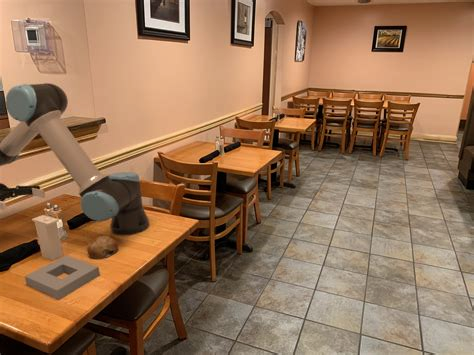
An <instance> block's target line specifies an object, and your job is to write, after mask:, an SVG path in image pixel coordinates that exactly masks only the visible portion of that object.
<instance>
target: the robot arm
mask: <svg viewBox="0 0 474 355" xmlns="http://www.w3.org/2000/svg"><path fill="white" fill-rule="evenodd" d="M67 96H68V95H67V94H66V93H65V91H64V90H63V89H62V88H61V87H60V86H59V85H57V84H53V83H36V84H34V83H33V84H32V83H31V84H27V83H23V84H20V85H19V84H18V85H14V86H13V87H11V88H10V89H9V90H8V92H7V93H6V97H5V99H6V100H5V107H6V110H7V112H8V114H9V116H10V117H11V118H12V119H13V120H15V121H18V122H19V123H18V124H17V125H16V126H15V127H14V128H13V129H12V130H11V131H10V132H9V133H8V134H7V135H5V137H4V138H3V140H2V141H1V142H0V167H2V166H6V165H10V164H12V163H14V162H16V161H18V159H19V156H20V152H22V151H23V149H24V148H25V147H26V146H28V144H29V143H30V142H31V141H32V140H34V138H35V137H36V136H38V134H39V135H40V137H41V138H42V139H43V140H44V142H45V143H46V145H47V146H48V147H49V148H50V150H51V151H52V152H53V154H54V155H55V157H56V158H57V160H59V162H60V163H61V165H62V166H63V167H64V169H65V170H66V171H67V172H68V174H69V175H70V177H71V178H72V179H73V180H74V182H75V183H76V185H77V186H78V187H79V190H78V195H79V196H80V198H81V199H80V208H81V210H82V212H83V213H84V215H85V216H87V217H88V218H89V219H91V220H93V221H98V222H106V221H108V220H110V219H111V220H110V231H111V232H112V234H114V235H119V236H129V235H135V234H138V233H142V232H143V231H145V230H147V229H148V228H149V227H150V221H149V220H150V219H149V218H148V216H147V214H146V211H145V210H144V207H143V206H144V205H143V199H142V198H143V197H142V190H141V189H142V188H141V180H140V175H138V174H139V173H136V172H130V171H128V172H127V171H124V172H114V173H109V174H102V173H101V172H100V171H99V169H98V168H97V166H96V165H95V164H94V163H93V161H92V160H91V158H90V157H89V156H88V154H87V152H86V151H85V150H84V149H83V147H82V146H81V145H80V143H79V142H78V140H77V139H76V138H75V137H74V135H73V133H72V132H71V131H70V130H69V128H68V127H67V126H66V124H65V123H64V122H63V120H62V118H61V116H62V115H63V114H64V113H65V111H66V110H67V108H68V100H69V99H68V97H67ZM30 195H31V196H33V197H38V198H42V199H45V198H46V194H45V190H43V189H41V187H40V185H18V184H17V185H15V187H8V186H7V185H5V184H4V183H2V182H0V210H1V211H4V212H5V211H8V210H7V209H8V208H7V205H6V202H4V201H5V200H7V199H10V198H17V197H19V196H30Z"/></svg>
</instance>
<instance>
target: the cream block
mask: <svg viewBox="0 0 474 355" xmlns="http://www.w3.org/2000/svg"><path fill="white" fill-rule="evenodd" d="M31 221H32V222H34V225H35V229H36V233H37V240H38V244H39V247H40V253H41V257H42V258H45V259H48V260H50V261H56V260H58V259H60V258H62V257H64V253H63V248H62V243H61V242H62V241H61V238H60V233H59V227H58V224H57V223H58V222H59V219H58V218H56V217H55V218H54V217H52V216H47V215H44V214H42V215H38V216H36V217H34V218H32V219H31Z"/></svg>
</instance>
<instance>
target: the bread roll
mask: <svg viewBox="0 0 474 355" xmlns="http://www.w3.org/2000/svg"><path fill="white" fill-rule="evenodd" d="M118 250H119V244H118V242H117V240H116V239H114V238H113V237H111V236H109V235H108V236H107V235H98V236H96V237H94V238H92V239H91V240H90V242H89V243H88V245H87V246H86V252H87V255H88V256H89V257H90V258H91V259H99V260H101V259H106V258H110V257H111V256H112V255H114V254H115V253H116V252H117V251H118Z"/></svg>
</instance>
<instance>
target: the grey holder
mask: <svg viewBox="0 0 474 355" xmlns="http://www.w3.org/2000/svg"><path fill="white" fill-rule="evenodd" d="M63 274H68V275H66V276H64V277H63V278H59V277H58V276H60V275H63ZM99 276H101V275H100V269H99V266H97V265H95V264H92V263H89V262H86V261H83V260H80V259H77V258H74V257H72V256H69V255H66V254H65V255H63V256H61V257H59V258H57V259H55V260H53V261H52V262H50V263H48V264H46V265H45V266H43V267H40V268H38V269H36V270H34V271H32V272H30V273H28V274H26V275H24V279H25V284H26V285H27V287H30V288H32V289H35V290H37V291H39V292H42V293H44V294H45V295H49V296H50V297H52V298H55V299H56V300H61V299H62V298H64V297H66V296H68V295H69V294H70V293H73V292H74V291H76V290H78V289H80V287H83V286H84V285H86V284H88V283H89V282H91V281H92V280H94V279H96V278H98V277H99Z"/></svg>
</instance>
